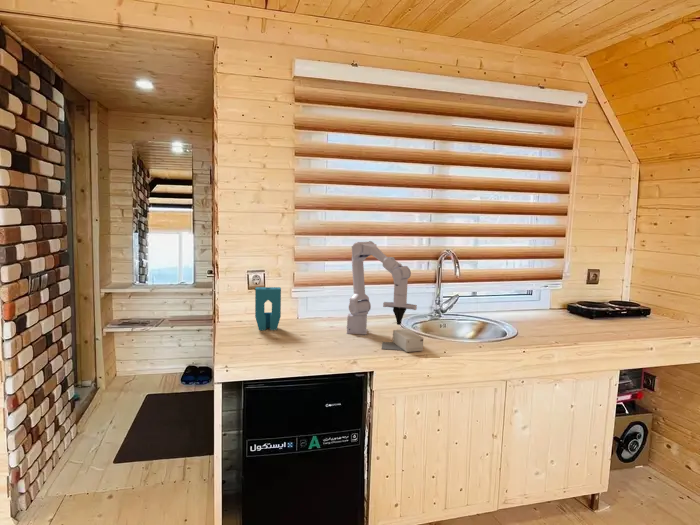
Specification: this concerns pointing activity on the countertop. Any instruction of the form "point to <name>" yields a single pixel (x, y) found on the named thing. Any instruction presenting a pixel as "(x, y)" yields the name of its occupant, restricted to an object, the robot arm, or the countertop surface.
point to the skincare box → (408, 340)
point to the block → (261, 297)
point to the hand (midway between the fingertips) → (399, 324)
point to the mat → (391, 346)
